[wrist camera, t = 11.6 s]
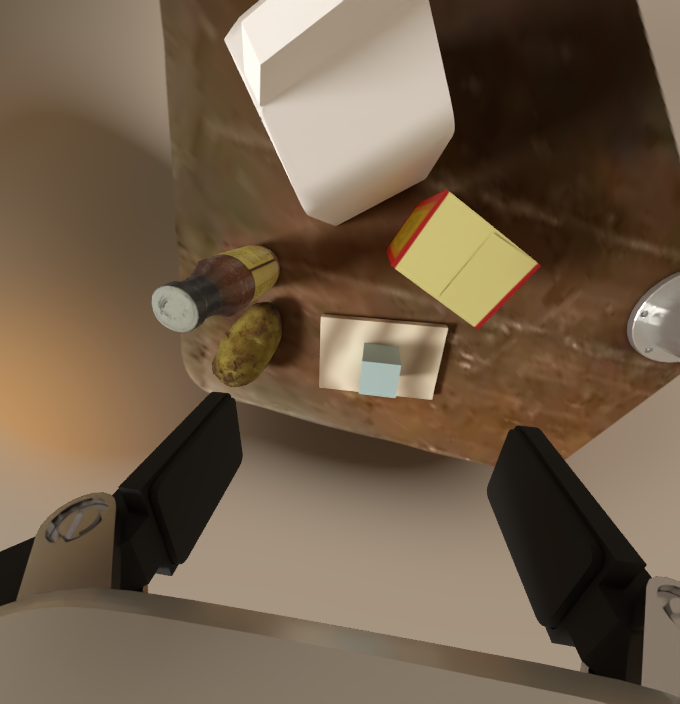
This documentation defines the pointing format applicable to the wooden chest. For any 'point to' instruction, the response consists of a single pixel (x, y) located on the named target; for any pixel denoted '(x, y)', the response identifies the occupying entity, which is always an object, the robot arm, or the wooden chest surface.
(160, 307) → the sauce bottle
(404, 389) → the birch board
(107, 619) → the robot arm
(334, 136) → the milk
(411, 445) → the wooden chest surface
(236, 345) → the potato
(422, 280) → the baking soda box
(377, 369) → the teal block
